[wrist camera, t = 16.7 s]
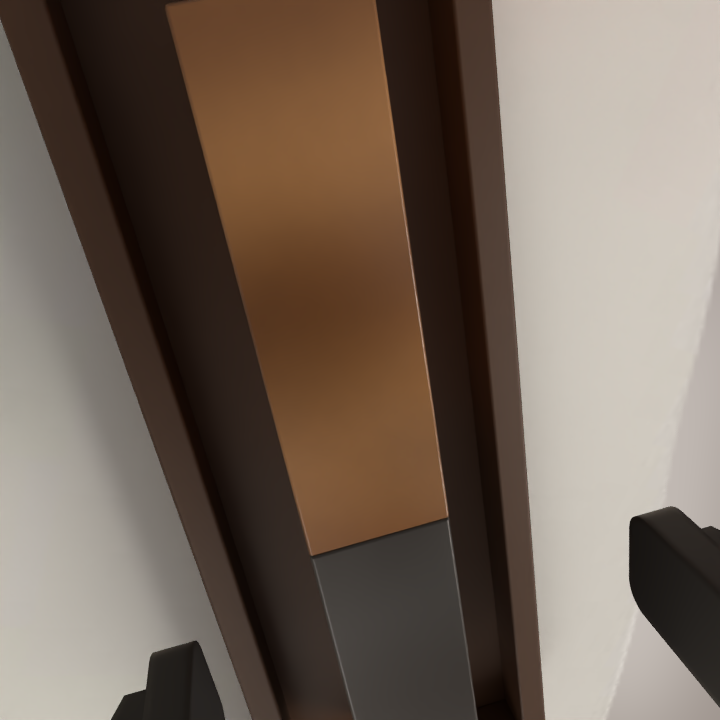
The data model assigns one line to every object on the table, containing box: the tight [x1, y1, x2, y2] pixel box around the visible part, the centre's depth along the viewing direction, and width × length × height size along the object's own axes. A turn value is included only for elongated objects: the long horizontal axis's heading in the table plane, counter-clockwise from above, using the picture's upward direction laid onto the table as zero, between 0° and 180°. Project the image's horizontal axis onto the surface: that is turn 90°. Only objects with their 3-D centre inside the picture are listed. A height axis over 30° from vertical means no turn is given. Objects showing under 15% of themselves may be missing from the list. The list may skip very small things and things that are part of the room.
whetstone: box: [165, 0, 478, 720], centre depth 15 cm, size 20×3×4 cm, turn 10°
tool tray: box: [0, 0, 545, 720], centre depth 16 cm, size 25×9×2 cm, turn 10°
